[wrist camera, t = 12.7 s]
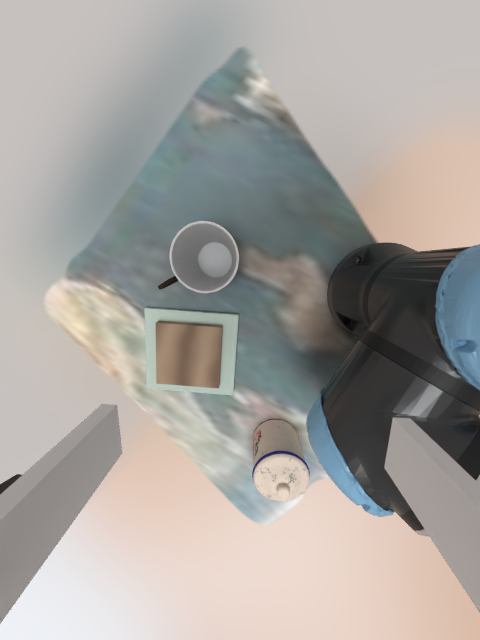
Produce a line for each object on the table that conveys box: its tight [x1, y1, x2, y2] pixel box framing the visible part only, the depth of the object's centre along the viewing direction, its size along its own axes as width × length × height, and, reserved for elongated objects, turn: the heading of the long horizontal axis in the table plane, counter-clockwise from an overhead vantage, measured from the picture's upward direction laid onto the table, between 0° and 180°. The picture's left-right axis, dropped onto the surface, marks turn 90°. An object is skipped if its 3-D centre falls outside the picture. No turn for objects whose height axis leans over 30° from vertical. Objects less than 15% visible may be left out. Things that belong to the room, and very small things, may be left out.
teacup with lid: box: [252, 420, 310, 501], centre depth 40 cm, size 12×9×12 cm
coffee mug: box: [158, 221, 239, 293], centre depth 34 cm, size 12×9×10 cm
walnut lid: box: [155, 321, 223, 388], centre depth 41 cm, size 11×11×2 cm
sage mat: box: [145, 307, 239, 395], centre depth 42 cm, size 16×15×1 cm
